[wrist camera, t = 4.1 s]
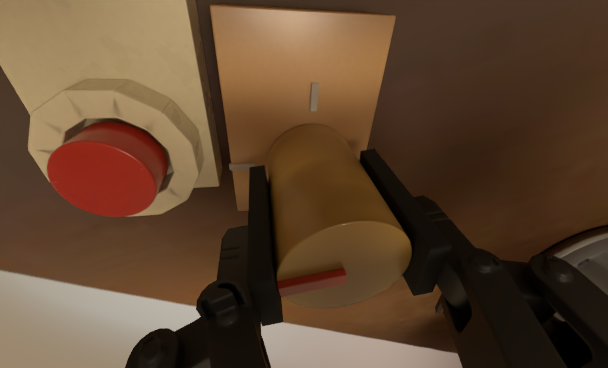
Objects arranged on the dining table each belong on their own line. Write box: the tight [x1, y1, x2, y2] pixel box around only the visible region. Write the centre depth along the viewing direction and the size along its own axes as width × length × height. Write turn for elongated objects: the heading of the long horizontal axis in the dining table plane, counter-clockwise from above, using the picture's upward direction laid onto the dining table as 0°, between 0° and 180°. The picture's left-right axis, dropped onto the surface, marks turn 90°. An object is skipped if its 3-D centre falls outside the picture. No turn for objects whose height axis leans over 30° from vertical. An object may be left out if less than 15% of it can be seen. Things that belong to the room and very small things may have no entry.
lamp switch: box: [47, 122, 168, 217], centre depth 12 cm, size 4×4×2 cm
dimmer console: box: [210, 3, 396, 211], centre depth 15 cm, size 12×9×3 cm
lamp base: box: [0, 0, 223, 217], centre depth 11 cm, size 16×8×4 cm, turn 177°
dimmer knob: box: [267, 124, 412, 309], centre depth 12 cm, size 5×5×8 cm
